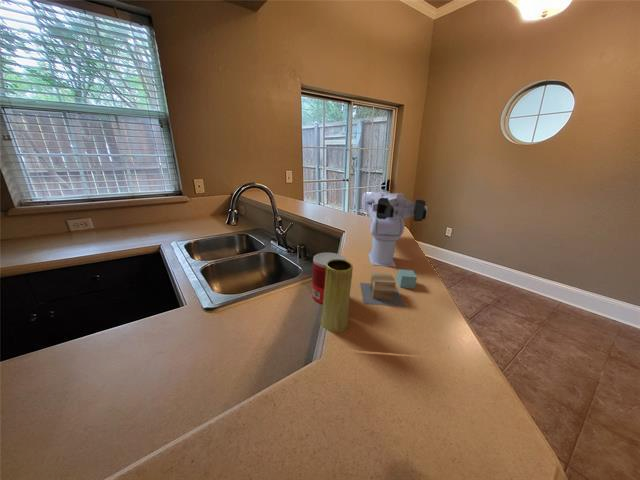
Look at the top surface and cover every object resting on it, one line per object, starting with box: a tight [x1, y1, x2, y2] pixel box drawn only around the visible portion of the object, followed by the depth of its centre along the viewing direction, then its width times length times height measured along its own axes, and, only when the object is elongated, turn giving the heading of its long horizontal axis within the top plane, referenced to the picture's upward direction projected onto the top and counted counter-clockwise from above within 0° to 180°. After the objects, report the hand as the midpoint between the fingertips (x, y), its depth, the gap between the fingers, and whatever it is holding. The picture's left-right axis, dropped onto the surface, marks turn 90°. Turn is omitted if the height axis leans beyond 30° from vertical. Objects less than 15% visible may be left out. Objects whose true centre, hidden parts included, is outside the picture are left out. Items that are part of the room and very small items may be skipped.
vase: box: [320, 259, 354, 333], centre depth 51 cm, size 6×6×14 cm
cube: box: [396, 269, 417, 289], centre depth 70 cm, size 4×4×4 cm
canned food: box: [311, 252, 347, 306], centre depth 61 cm, size 8×8×11 cm
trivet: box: [359, 282, 406, 308], centre depth 65 cm, size 10×10×1 cm
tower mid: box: [370, 271, 397, 291], centre depth 64 cm, size 5×5×2 cm
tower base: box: [370, 281, 394, 300], centre depth 65 cm, size 5×5×2 cm
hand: (408, 213), depth 59 cm, fingers open, 7 cm apart
